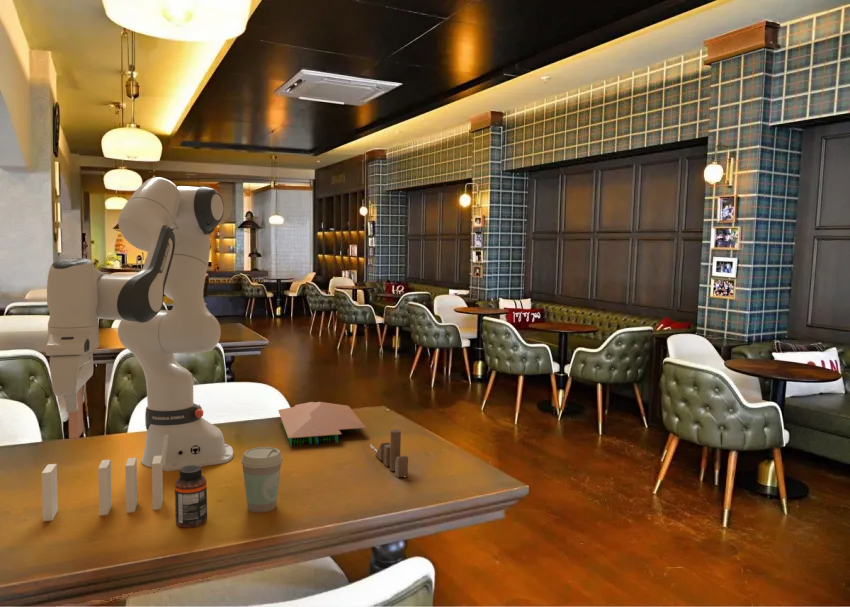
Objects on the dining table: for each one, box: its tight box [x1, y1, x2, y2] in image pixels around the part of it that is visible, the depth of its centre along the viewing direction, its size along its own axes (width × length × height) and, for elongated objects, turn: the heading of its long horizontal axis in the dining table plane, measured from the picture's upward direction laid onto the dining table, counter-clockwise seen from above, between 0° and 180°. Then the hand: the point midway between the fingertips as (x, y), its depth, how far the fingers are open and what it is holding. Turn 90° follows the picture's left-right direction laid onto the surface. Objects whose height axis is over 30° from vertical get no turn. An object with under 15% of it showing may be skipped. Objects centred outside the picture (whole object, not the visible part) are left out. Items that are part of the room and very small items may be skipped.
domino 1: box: [67, 387, 84, 440], centre depth 126 cm, size 2×5×10 cm, turn 19°
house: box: [278, 401, 367, 448], centre depth 191 cm, size 23×33×8 cm
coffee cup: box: [240, 446, 284, 513], centre depth 132 cm, size 8×8×12 cm
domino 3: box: [124, 457, 138, 514], centre depth 130 cm, size 2×5×10 cm, turn 19°
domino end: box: [41, 463, 59, 522], centre depth 125 cm, size 2×5×10 cm, turn 19°
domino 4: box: [151, 455, 164, 511], centre depth 132 cm, size 2×5×10 cm, turn 19°
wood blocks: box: [370, 429, 409, 479], centre depth 162 cm, size 25×3×10 cm, turn 23°
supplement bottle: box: [174, 465, 208, 529], centre depth 124 cm, size 6×6×11 cm
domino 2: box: [97, 459, 113, 516], centre depth 129 cm, size 2×5×10 cm, turn 19°
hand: (75, 407), depth 126 cm, fingers closed on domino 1, 5 cm apart
